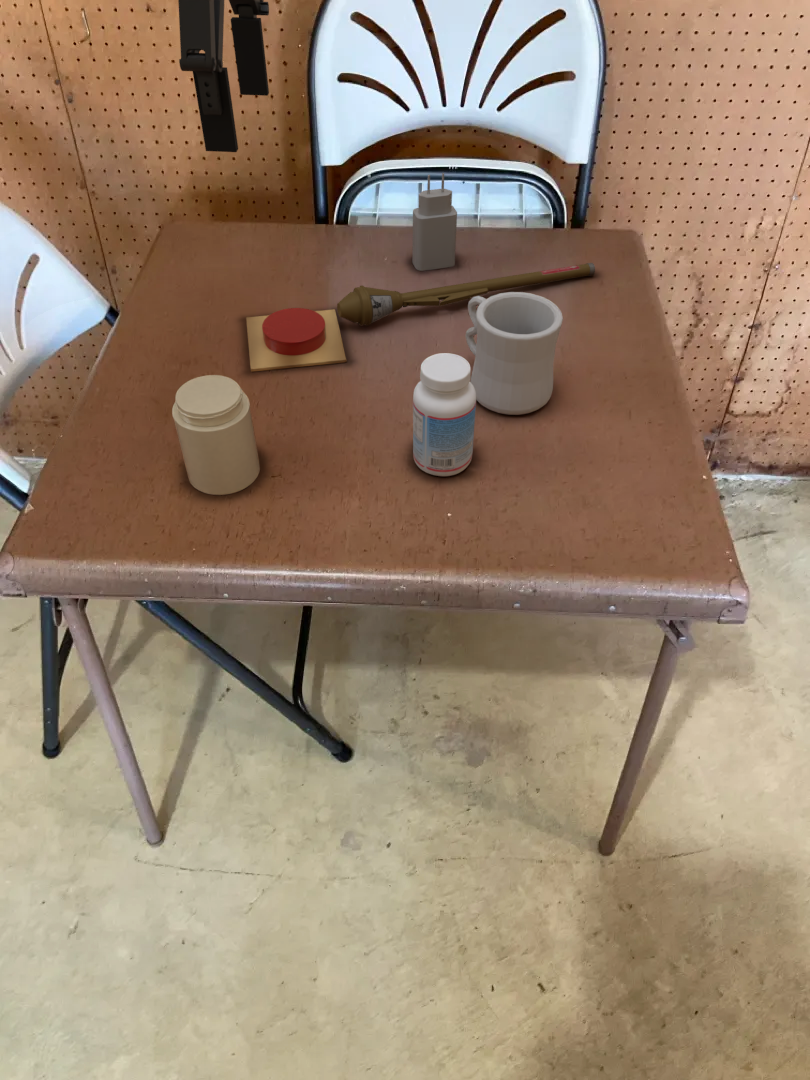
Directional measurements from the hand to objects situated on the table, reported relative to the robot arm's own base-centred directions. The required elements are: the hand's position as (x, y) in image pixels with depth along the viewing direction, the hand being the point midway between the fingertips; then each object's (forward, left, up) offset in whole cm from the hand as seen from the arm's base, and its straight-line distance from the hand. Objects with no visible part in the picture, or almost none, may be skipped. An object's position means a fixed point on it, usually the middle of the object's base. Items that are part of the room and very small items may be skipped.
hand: (239, 120), depth 78 cm
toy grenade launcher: (+26, +9, -27) cm, 38 cm away
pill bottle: (+16, -20, -27) cm, 37 cm away
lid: (+3, +4, -25) cm, 25 cm away
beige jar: (-6, -18, -27) cm, 33 cm away
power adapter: (+23, +19, -27) cm, 40 cm away
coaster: (+3, +4, -27) cm, 27 cm away
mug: (+25, -9, -27) cm, 38 cm away
